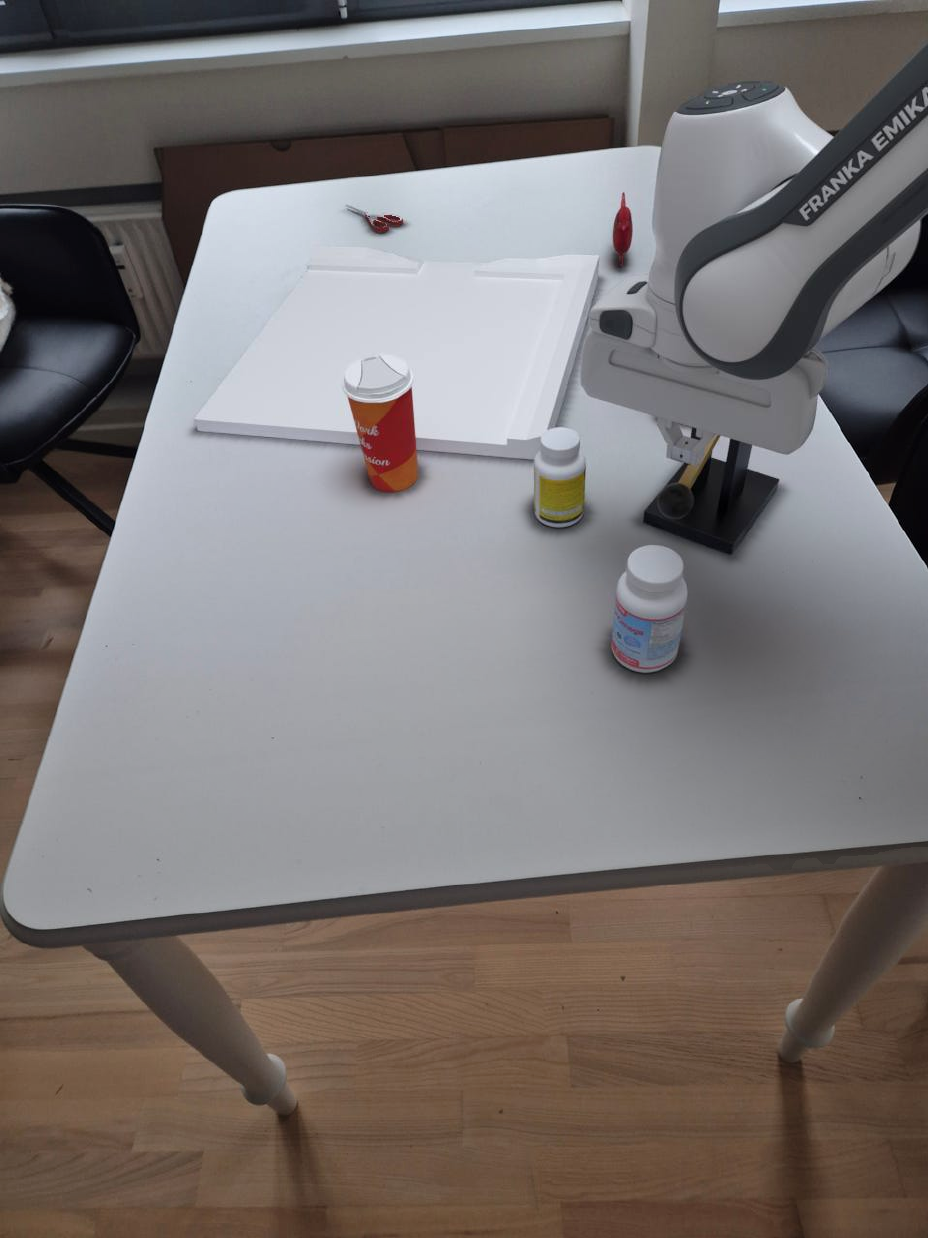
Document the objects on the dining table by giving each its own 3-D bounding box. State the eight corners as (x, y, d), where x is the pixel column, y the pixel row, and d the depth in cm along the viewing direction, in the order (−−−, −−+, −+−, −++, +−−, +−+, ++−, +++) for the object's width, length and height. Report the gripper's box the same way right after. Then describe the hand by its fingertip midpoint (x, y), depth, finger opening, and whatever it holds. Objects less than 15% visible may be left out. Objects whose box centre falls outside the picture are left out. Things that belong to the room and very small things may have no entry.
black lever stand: (731, 554, 88) (754, 442, 78) (642, 521, 92) (653, 411, 82) (776, 489, 94) (803, 378, 84) (691, 461, 98) (707, 352, 88)
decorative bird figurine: (610, 283, 129) (614, 214, 121) (612, 231, 140) (615, 166, 133) (630, 282, 128) (635, 214, 121) (630, 231, 140) (634, 165, 133)
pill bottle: (599, 638, 82) (605, 551, 73) (657, 618, 83) (668, 530, 74) (630, 684, 78) (639, 597, 69) (690, 662, 79) (706, 574, 71)
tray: (198, 430, 110) (189, 406, 108) (319, 267, 139) (315, 245, 137) (545, 460, 101) (545, 435, 98) (598, 278, 130) (599, 255, 127)
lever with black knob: (685, 530, 82) (683, 512, 79) (652, 518, 84) (649, 500, 81) (749, 415, 85) (749, 393, 82) (717, 405, 87) (716, 384, 84)
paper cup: (355, 466, 103) (333, 361, 92) (417, 450, 104) (402, 345, 94) (370, 505, 98) (348, 398, 87) (435, 489, 99) (421, 381, 88)
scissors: (380, 234, 146) (380, 228, 145) (334, 212, 154) (333, 206, 153) (405, 223, 148) (405, 217, 148) (358, 202, 156) (357, 197, 155)
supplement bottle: (593, 520, 93) (596, 445, 86) (547, 534, 92) (547, 460, 85) (570, 491, 97) (571, 417, 89) (526, 505, 95) (524, 431, 88)
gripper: (848, 328, 65) (810, 474, 75) (609, 274, 74) (603, 411, 84) (818, 367, 62) (782, 515, 72) (571, 307, 71) (570, 445, 81)
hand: (684, 459), depth 78 cm, fingers closed
